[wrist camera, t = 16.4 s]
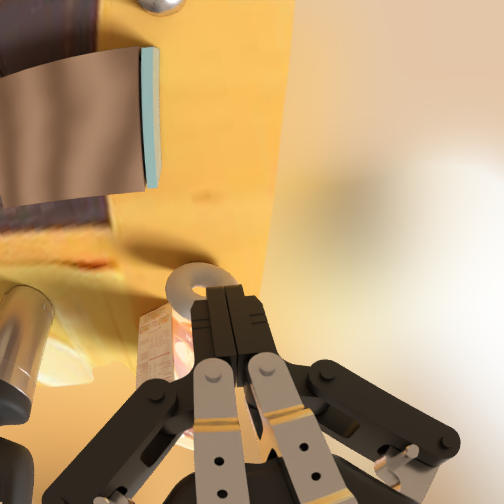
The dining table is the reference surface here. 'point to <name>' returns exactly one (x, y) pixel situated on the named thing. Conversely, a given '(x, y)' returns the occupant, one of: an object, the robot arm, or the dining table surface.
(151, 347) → the coffeecake box
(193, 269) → the donut
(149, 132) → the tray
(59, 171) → the housing
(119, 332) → the dining table surface
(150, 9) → the shiny metal cylinder
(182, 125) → the dining table surface
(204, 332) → the robot arm
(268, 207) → the dining table surface
